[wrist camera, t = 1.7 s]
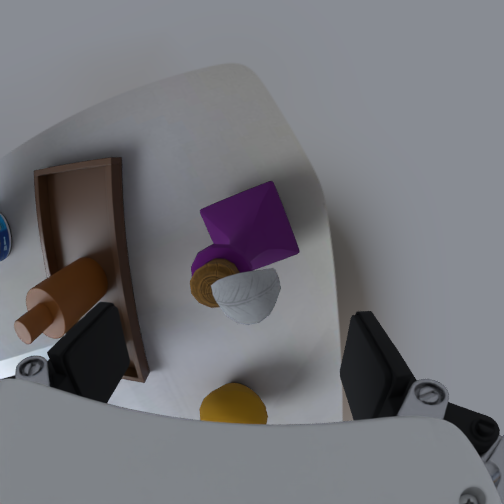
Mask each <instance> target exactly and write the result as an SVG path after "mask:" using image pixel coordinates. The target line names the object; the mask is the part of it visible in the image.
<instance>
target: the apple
mask: <svg viewBox="0 0 504 504" xmlns="http://www.w3.org/2000/svg"><path fill="white" fill-rule="evenodd" d="M267 418H268V415H267V411H266V407H265V405H264V403H263V402H262V400H261V399H260V397H259V396H258V395H257V394H256V393H255V392H254V391H253V390H251V389H250V388H248V387H247V386H245V385H242V384H240V383H228V384H225V385H223V386H222V387H220V388H218V389H216V390H214V391H212V392H211V393H210V394H209V395H208V396H207V397H205V398H204V400H203V402H202V404H201V407H200V420H202V421H212V422H224V423H240V424H266V423H267Z"/></svg>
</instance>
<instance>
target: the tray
mask: <svg viewBox="0 0 504 504" xmlns="http://www.w3.org/2000/svg"><path fill="white" fill-rule="evenodd" d="M34 186H35V200H36V211H37V220H38V228H39V235H40V242H41V248H42V253H43V259H44V264H45V269H46V274H47V278H48V277H50V276H51V275H53V274H55V273H56V272H58V271H59V270H61V269H63V268H64V267H66V266H67V265H69V264H71V263H72V262H74V261H76V260H77V259H79V258H82V257H88V258H91V259H93V260H95V261H96V262H97V263H98V264H99V265H100V266H101V267H102V269H103V270H104V272H105V274H106V277H107V282H108V288H107V292H106V294H105V295H104V297H103V298H101V299H100V300H99V301H98V302H97V303H96V304H95V305H94V306H93V307H95V306H96V305H97V304H98V303H99V302H110V303H113V304H114V305H115V306H116V307H117V308H118V310H119V315H120V320H121V325H122V329H123V334H124V338H125V342H126V346H127V350H128V354H129V358H130V364H129V367H128V369H127V370H126V372H125V374H124V375H123V377H122V379H126V380H131V381H137V382H142V383H145V381H146V379H147V377H148V375H149V373H150V371H149V367H148V363H147V359H146V355H145V351H144V346H143V342H142V337H141V332H140V327H139V322H138V317H137V312H136V306H135V300H134V294H133V288H132V282H131V275H130V268H129V260H128V251H127V242H126V232H125V221H124V208H123V190H122V158H121V157H110V158H103V159H95V160H89V161H82V162H76V163H70V164H65V165H59V166H54V167H49V168H44V169H39V170H35V171H34ZM93 307H92V308H93ZM92 308H91V309H92ZM91 309H90V310H91ZM90 310H89V311H90ZM89 311H88V312H89ZM88 312H87V313H88ZM87 313H86V314H87ZM86 314H85V315H86ZM85 315H84V316H85ZM84 316H82V317H81V318H80V319H79V320H78V321H77V322H76V323H78V322H79V321H80V320H81V319H82V318H83V317H84ZM76 323H75V324H76ZM75 324H74V325H75ZM74 325H73V326H74ZM73 326H72V327H73ZM72 327H71V328H72ZM71 328H70V329H71ZM70 329H69V330H70ZM69 330H68V331H69ZM68 331H67V332H68ZM67 332H66V333H67ZM66 333H65V334H66ZM65 334H64V335H65ZM64 335H63V336H64Z"/></svg>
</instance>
